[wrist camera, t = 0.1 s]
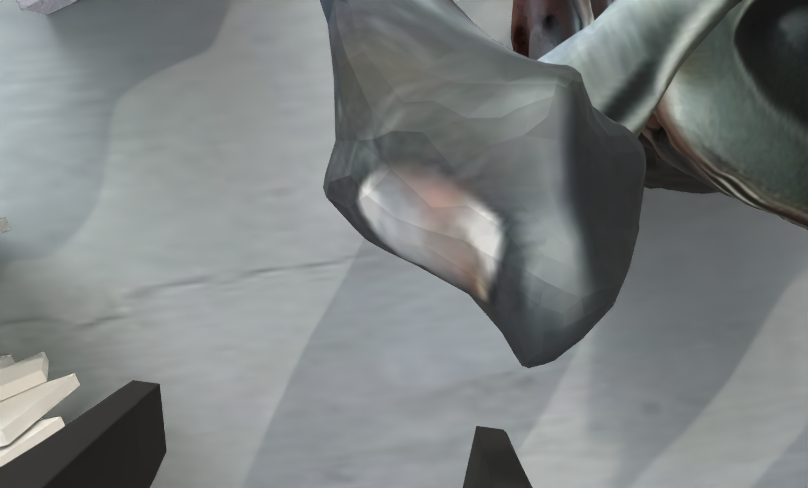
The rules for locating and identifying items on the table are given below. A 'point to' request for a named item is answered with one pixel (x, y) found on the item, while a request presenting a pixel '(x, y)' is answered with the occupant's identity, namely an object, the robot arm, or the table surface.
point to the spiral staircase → (28, 399)
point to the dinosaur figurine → (43, 5)
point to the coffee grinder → (558, 139)
